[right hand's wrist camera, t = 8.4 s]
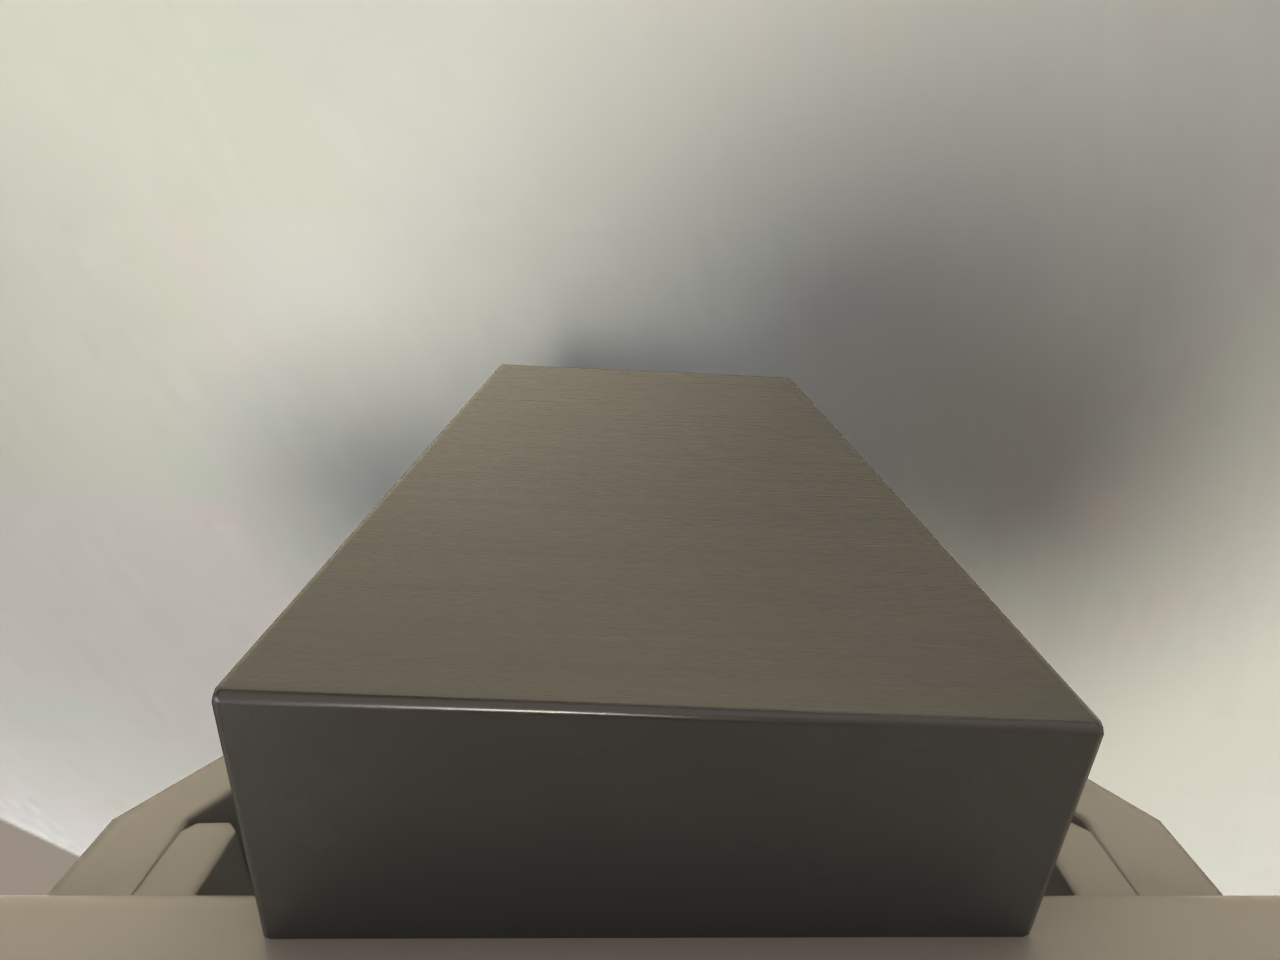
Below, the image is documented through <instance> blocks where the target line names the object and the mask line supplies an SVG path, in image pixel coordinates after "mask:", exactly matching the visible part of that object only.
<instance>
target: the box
mask: <svg viewBox="0 0 1280 960" xmlns="http://www.w3.org/2000/svg"><path fill="white" fill-rule="evenodd" d="M212 706H213V711H214V715H215V719H216V724H217V728H218V733H219V737H220V742H221V746H222V751H223V755H224V760H225V764H226V769H227V773H228V778H229V782H230V787H231V791H232V796H233V800H234V805H235V809H236V814H237V818H238V823H239V827H240V831H241V836H242V840H243V845H244V849H245V854H246V858H247V863H248V867H249V872H250V876H251V881H252V885H253V890H254V894H255V899H256V903H257V908H258V912H259V917H260V921H261V926H262V930H263V935H264V936H265V937H267V938H269V939H458V938H816V937H1024V936H1026V935H1028V934H1029V933H1030V931H1031V928H1032V925H1033V923H1034V920H1035V917H1036V915H1037V912H1038V909H1039V907H1040V904H1041V901H1042V899H1043V896H1044V893H1045V891H1046V888H1047V885H1048V883H1049V880H1050V877H1051V875H1052V872H1053V869H1054V866H1055V864H1056V861H1057V858H1058V856H1059V853H1060V850H1061V848H1062V845H1063V842H1064V840H1065V837H1066V834H1067V832H1068V829H1069V826H1070V824H1071V821H1072V818H1073V816H1074V813H1075V810H1076V808H1077V805H1078V802H1079V799H1080V797H1081V794H1082V791H1083V789H1084V786H1085V783H1086V781H1087V778H1088V775H1089V773H1090V770H1091V767H1092V765H1093V762H1094V759H1095V757H1096V754H1097V751H1098V749H1099V746H1100V743H1101V741H1102V738H1103V735H1104V732H1103V726H1102V723H1101V721H1100V720H1099V719H1098V717H1097V716H1096V715H1095V714H1094V713H1093V712H1092V711H1091V710H1090V709H1089V708H1088V706H1087V705H1086V704H1085V703H1084V702H1083V701H1082V700H1081V699H1080V698H1079V697H1078V695H1077V694H1076V693H1075V692H1074V691H1073V690H1072V689H1071V688H1070V687H1069V686H1068V684H1067V683H1066V682H1065V681H1064V680H1063V679H1062V678H1061V677H1060V676H1059V674H1058V673H1057V672H1056V671H1055V670H1054V669H1053V668H1052V667H1051V666H1050V665H1049V663H1048V662H1047V661H1046V660H1045V659H1044V658H1043V657H1042V656H1041V655H1040V654H1039V652H1038V651H1037V650H1036V649H1035V648H1034V647H1033V646H1032V645H1031V644H1030V643H1029V641H1028V640H1027V639H1026V638H1025V637H1024V636H1023V635H1022V634H1021V633H1020V632H1019V630H1018V629H1017V628H1016V627H1015V626H1014V625H1013V624H1012V623H1011V622H1010V620H1009V619H1008V618H1007V617H1006V616H1005V615H1004V614H1003V613H1002V612H1001V611H1000V609H999V608H998V607H997V606H996V605H995V604H994V603H993V602H992V601H991V600H990V598H989V597H988V596H987V595H986V594H985V593H984V592H983V591H982V590H981V589H980V587H979V586H978V585H977V584H976V583H975V582H974V581H973V580H972V579H971V578H970V576H969V575H968V574H967V573H966V572H965V571H964V570H963V569H962V568H961V566H960V565H959V564H958V563H957V562H956V561H955V560H954V559H953V558H952V557H951V555H950V554H949V553H948V552H947V551H946V550H945V549H944V548H943V547H942V546H941V544H940V543H939V542H938V541H937V540H936V539H935V538H934V537H933V536H932V535H931V533H930V532H929V531H928V530H927V529H926V528H925V527H924V526H923V525H922V524H921V522H920V521H919V520H918V519H917V518H916V517H915V516H914V515H913V514H912V512H911V511H910V510H909V509H908V508H907V507H906V506H905V505H904V504H903V503H902V501H901V500H900V499H899V498H898V497H897V496H896V495H895V494H894V493H893V492H892V490H891V489H890V488H889V487H888V486H887V485H886V484H885V483H884V482H883V481H882V479H881V478H880V477H879V476H878V475H877V474H876V473H875V472H874V471H873V470H872V468H871V467H870V466H869V465H868V464H867V463H866V462H865V461H864V460H863V458H862V457H861V456H860V455H859V454H858V453H857V452H856V451H855V450H854V449H853V447H852V446H851V445H850V444H849V443H848V442H847V441H846V440H845V439H844V438H843V436H842V435H841V434H840V433H839V432H838V431H837V430H836V429H835V428H834V427H833V425H832V424H831V423H830V422H829V421H828V420H827V419H826V418H825V417H824V415H823V414H822V413H821V412H820V411H819V410H818V409H817V408H816V407H815V406H814V404H813V403H812V402H811V401H810V400H809V399H808V398H807V397H806V396H805V395H804V393H803V392H802V391H801V390H800V389H799V388H798V387H797V386H796V385H795V384H794V382H793V381H792V380H791V379H789V378H778V377H757V376H736V375H715V374H693V373H672V372H651V371H629V370H608V369H587V368H565V367H544V366H523V365H501V366H500V367H499V368H498V369H497V370H496V371H495V373H494V374H493V375H492V376H491V377H490V378H489V379H488V380H487V382H486V383H485V384H484V385H483V386H482V387H481V388H480V390H479V391H478V392H477V393H476V394H475V395H474V396H473V397H472V399H471V400H470V401H469V402H468V403H467V404H466V405H465V406H464V408H463V409H462V410H461V411H460V412H459V413H458V414H457V416H456V417H455V418H454V419H453V420H452V421H451V422H450V423H449V425H448V426H447V427H446V428H445V429H444V430H443V431H442V432H441V434H440V435H439V436H438V437H437V438H436V439H435V440H434V442H433V443H432V444H431V445H430V446H429V447H428V448H427V449H426V451H425V452H424V453H423V454H422V455H421V456H420V457H419V458H418V460H417V461H416V462H415V463H414V464H413V465H412V466H411V468H410V469H409V470H408V471H407V472H406V473H405V474H404V475H403V477H402V478H401V479H400V480H399V481H398V482H397V483H396V485H395V486H394V487H393V488H392V489H391V490H390V491H389V492H388V494H387V495H386V496H385V497H384V498H383V499H382V500H381V501H380V503H379V504H378V505H377V506H376V507H375V508H374V509H373V511H372V512H371V513H370V514H369V515H368V516H367V517H366V518H365V520H364V521H363V522H362V523H361V524H360V525H359V526H358V527H357V529H356V530H355V531H354V532H353V533H352V534H351V535H350V537H349V538H348V539H347V540H346V541H345V542H344V543H343V544H342V546H341V547H340V548H339V549H338V550H337V551H336V552H335V554H334V555H333V556H332V557H331V558H330V559H329V560H328V561H327V563H326V564H325V565H324V566H323V567H322V568H321V569H320V570H319V572H318V573H317V574H316V575H315V576H314V577H313V578H312V580H311V581H310V582H309V583H308V584H307V585H306V586H305V587H304V589H303V590H302V591H301V592H300V593H299V594H298V595H297V596H296V598H295V599H294V600H293V601H292V602H291V603H290V604H289V606H288V607H287V608H286V609H285V610H284V611H283V612H282V613H281V615H280V616H279V617H278V618H277V619H276V620H275V621H274V622H273V624H272V625H271V626H270V627H269V628H268V629H267V630H266V632H265V633H264V634H263V635H262V636H261V637H260V638H259V639H258V641H257V642H256V643H255V644H254V645H253V646H252V647H251V649H250V650H249V651H248V652H247V653H246V654H245V655H244V656H243V658H242V659H241V660H240V661H239V662H238V663H237V664H236V665H235V667H234V668H233V669H232V670H231V671H230V672H229V673H228V675H227V676H226V677H225V678H224V679H223V680H222V681H221V682H220V684H219V685H218V686H217V687H216V688H215V691H214V693H213V697H212Z"/></svg>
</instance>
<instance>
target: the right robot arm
mask: <svg viewBox="0 0 1280 960" xmlns="http://www.w3.org/2000/svg"><path fill="white" fill-rule="evenodd" d="M0 960H1280V896H1223V895H1222V893H1221V892H1220V891H1219V890H1218V889H1217V888H1216V886H1215V885H1214V884H1213V883H1212V882H1211V880H1210V879H1209V878H1208V877H1207V876H1206V875H1205V873H1204V872H1203V871H1202V870H1201V869H1200V868H1199V866H1198V865H1197V864H1196V863H1195V862H1194V860H1193V859H1192V858H1191V857H1190V856H1189V855H1188V853H1187V852H1186V851H1185V850H1184V849H1183V848H1182V846H1181V845H1180V844H1179V843H1178V842H1177V840H1176V839H1175V838H1174V837H1173V836H1172V835H1171V833H1170V832H1169V831H1168V830H1167V829H1166V828H1165V826H1164V825H1163V824H1162V823H1161V822H1160V821H1159V820H1157V819H1156V818H1154V817H1152V816H1150V815H1149V814H1147V813H1145V812H1144V811H1142V810H1140V809H1138V808H1137V807H1135V806H1133V805H1132V804H1130V803H1128V802H1127V801H1125V800H1123V799H1121V798H1120V797H1118V796H1116V795H1115V794H1113V793H1111V792H1109V791H1108V790H1106V789H1104V788H1103V787H1101V786H1099V785H1097V784H1096V783H1094V782H1092V781H1091V780H1089V779H1087V781H1086V783H1085V786H1084V789H1083V791H1082V794H1081V797H1080V799H1079V802H1078V805H1077V808H1076V810H1075V813H1074V816H1073V818H1072V821H1071V824H1070V826H1069V829H1068V832H1067V834H1066V837H1065V840H1064V842H1063V845H1062V848H1061V850H1060V853H1059V856H1058V858H1057V861H1056V864H1055V866H1054V869H1053V872H1052V875H1051V877H1050V880H1049V883H1048V885H1047V888H1046V891H1045V893H1044V896H1043V899H1042V901H1041V904H1040V907H1039V909H1038V912H1037V915H1036V917H1035V920H1034V923H1033V925H1032V928H1031V931H1030V933H1029V934H1028V935H1026V936H1024V937H816V938H458V939H269V938H267V937H265V936H264V935H263V930H262V926H261V921H260V917H259V912H258V908H257V903H256V899H255V894H254V890H253V885H252V881H251V876H250V872H249V867H248V863H247V858H246V854H245V849H244V845H243V840H242V836H241V831H240V827H239V823H238V818H237V814H236V809H235V805H234V800H233V796H232V791H231V787H230V782H229V778H228V773H227V769H226V764H225V760H224V756H222V757H221V758H219V759H217V760H215V761H214V762H212V763H210V764H209V765H207V766H205V767H203V768H202V769H200V770H198V771H196V772H195V773H193V774H191V775H189V776H188V777H186V778H184V779H183V780H181V781H179V782H177V783H176V784H174V785H172V786H170V787H169V788H167V789H165V790H164V791H162V792H160V793H158V794H157V795H155V796H153V797H151V798H150V799H148V800H146V801H144V802H143V803H141V804H139V805H138V806H136V807H134V808H132V809H131V810H129V811H127V812H125V813H124V814H122V815H120V816H119V817H117V818H115V819H113V820H112V821H111V822H110V823H109V825H108V826H107V827H106V828H105V829H104V830H103V831H102V833H101V834H100V835H99V836H98V837H97V838H96V840H95V841H94V842H93V843H92V844H91V845H90V846H89V848H88V849H87V850H86V851H85V852H84V853H83V854H82V856H81V857H80V858H79V859H78V860H77V861H76V863H75V864H74V865H73V866H72V867H71V868H70V869H69V871H68V872H67V873H66V874H65V875H64V876H63V877H62V879H61V880H60V881H59V882H58V883H57V884H56V886H55V887H54V888H53V889H52V890H51V891H50V892H49V894H48V895H0Z"/></svg>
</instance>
